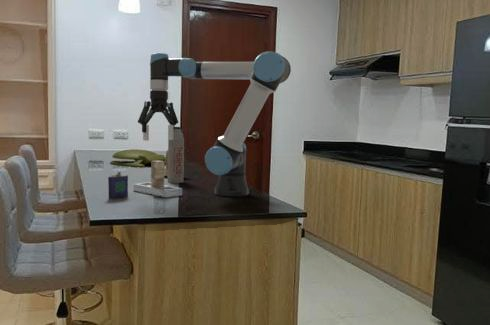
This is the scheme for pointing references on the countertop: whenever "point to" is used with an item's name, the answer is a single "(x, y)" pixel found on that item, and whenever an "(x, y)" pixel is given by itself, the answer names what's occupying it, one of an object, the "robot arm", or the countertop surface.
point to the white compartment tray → (158, 190)
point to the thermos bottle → (176, 157)
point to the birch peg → (157, 173)
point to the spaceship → (137, 157)
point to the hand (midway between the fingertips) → (158, 140)
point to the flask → (118, 186)
